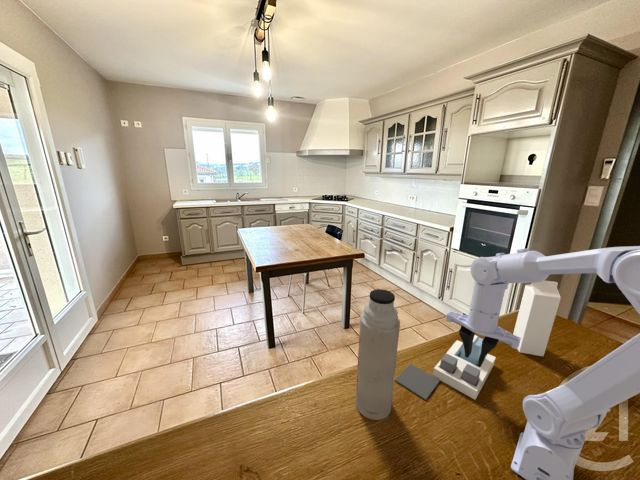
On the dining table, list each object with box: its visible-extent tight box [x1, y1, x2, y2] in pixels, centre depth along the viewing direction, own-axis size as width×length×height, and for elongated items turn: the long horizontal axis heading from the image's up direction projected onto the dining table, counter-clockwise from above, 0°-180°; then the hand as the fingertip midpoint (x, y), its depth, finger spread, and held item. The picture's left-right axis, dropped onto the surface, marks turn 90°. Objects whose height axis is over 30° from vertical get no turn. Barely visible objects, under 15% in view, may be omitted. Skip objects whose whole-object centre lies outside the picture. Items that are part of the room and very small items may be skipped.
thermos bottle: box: [355, 288, 401, 421], centre depth 56 cm, size 8×8×28 cm
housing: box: [432, 339, 497, 401], centre depth 70 cm, size 16×10×2 cm, turn 134°
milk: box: [512, 280, 562, 357], centre depth 76 cm, size 6×6×22 cm
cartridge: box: [459, 334, 484, 367], centre depth 72 cm, size 4×4×8 cm
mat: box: [394, 363, 441, 402], centre depth 67 cm, size 8×8×1 cm
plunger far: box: [440, 352, 458, 374], centre depth 68 cm, size 3×3×3 cm
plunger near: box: [461, 364, 481, 387], centre depth 64 cm, size 3×3×3 cm
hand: (474, 358), depth 63 cm, fingers open, 2 cm apart
